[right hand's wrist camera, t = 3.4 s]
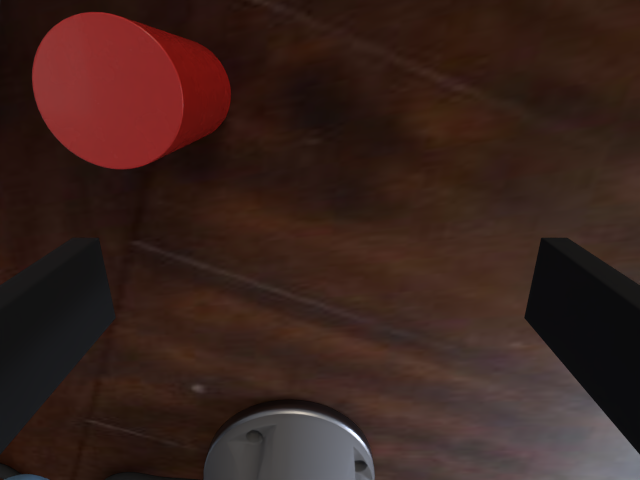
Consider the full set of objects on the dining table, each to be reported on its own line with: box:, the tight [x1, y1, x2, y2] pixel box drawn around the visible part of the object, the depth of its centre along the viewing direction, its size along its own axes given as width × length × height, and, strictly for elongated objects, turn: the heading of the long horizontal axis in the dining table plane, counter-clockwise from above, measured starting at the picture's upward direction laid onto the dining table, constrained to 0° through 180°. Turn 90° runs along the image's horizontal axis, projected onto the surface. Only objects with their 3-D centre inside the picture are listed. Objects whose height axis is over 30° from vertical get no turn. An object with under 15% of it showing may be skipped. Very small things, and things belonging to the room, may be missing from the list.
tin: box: [32, 12, 231, 169], centre depth 22 cm, size 6×6×10 cm
